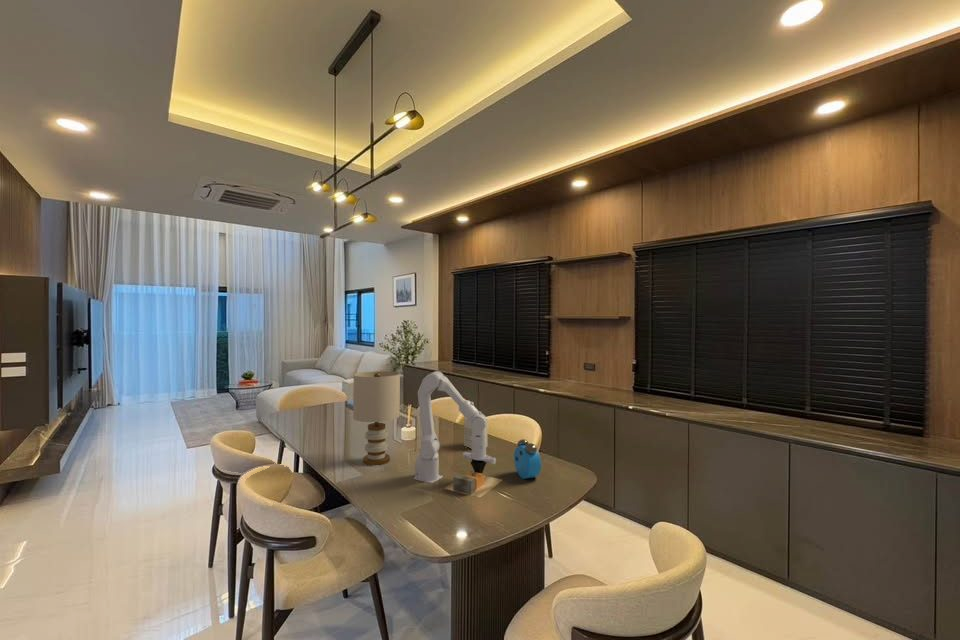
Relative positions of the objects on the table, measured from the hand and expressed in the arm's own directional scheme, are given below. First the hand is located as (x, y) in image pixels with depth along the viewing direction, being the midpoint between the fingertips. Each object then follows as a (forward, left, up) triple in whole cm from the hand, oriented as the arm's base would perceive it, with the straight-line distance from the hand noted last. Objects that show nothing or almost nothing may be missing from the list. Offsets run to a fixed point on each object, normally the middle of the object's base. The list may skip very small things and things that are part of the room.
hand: (478, 478), depth 159 cm
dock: (0, -4, -1) cm, 4 cm away
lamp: (-53, -4, -2) cm, 53 cm away
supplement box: (-24, +38, -2) cm, 45 cm away
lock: (0, -5, -1) cm, 5 cm away
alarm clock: (+15, +14, -2) cm, 21 cm away
